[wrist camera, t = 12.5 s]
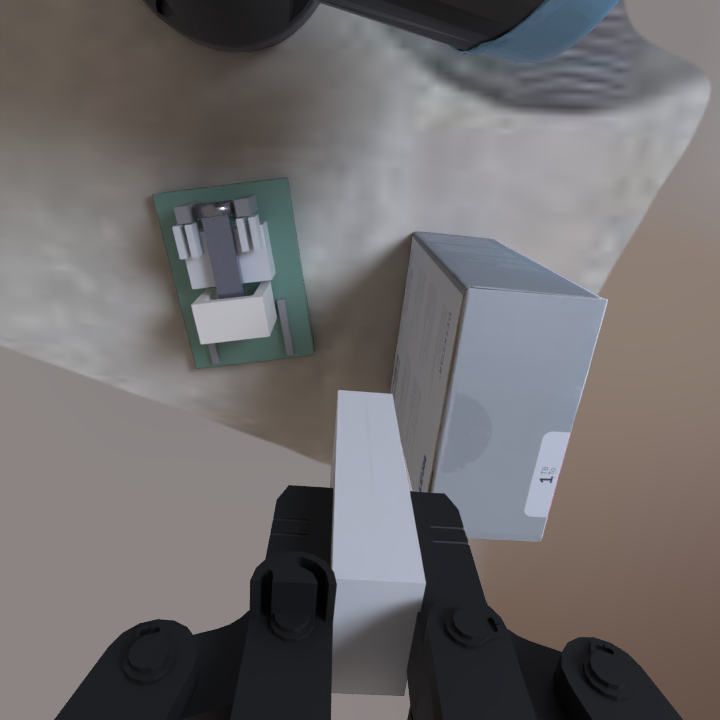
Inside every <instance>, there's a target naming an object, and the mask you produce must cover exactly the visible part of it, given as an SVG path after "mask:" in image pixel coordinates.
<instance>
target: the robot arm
mask: <svg viewBox="0 0 720 720" xmlns="http://www.w3.org/2000/svg"><path fill="white" fill-rule="evenodd" d="M143 1H144V2H145V3H146V5H147V6H148V7H149V8H150V9H151V10H152V11H153V12H154V13H155V14H156V15H157V16H158V17H159V18H161V19H162V20H163V21H164V22H165V23H167V24H168V25H169V26H171V27H172V28H174V29H175V30H176V31H178V32H179V33H181V34H182V35H184V36H185V37H187V38H189V39H191V40H193V41H194V42H196V43H199V44H201V45H203V46H206V47H209V48H212V49H216V50H221V51H227V52H250V51H256V50H260V49H264V48H267V47H270V46H272V45H274V44H277V43H279V42H281V41H282V40H284V39H286V38H287V37H289V36H290V35H292V34H293V33H294V32H295V31H297V30H298V29H299V28H300V27H301V26H302V25H303V24H304V23H305V22H306V21H307V20H308V19H309V18H310V16H311V15H312V14H313V12H314V11H315V10H316V8H317V7H318V5H319V3H322V4H326V5H329V6H332V7H335V8H338V9H341V10H344V11H347V12H350V13H353V14H356V15H359V16H362V17H365V18H368V19H371V20H374V21H377V22H380V23H383V24H386V25H389V26H392V27H395V28H399V29H402V30H405V31H408V32H411V33H414V34H417V35H420V36H423V37H426V38H429V39H432V40H435V41H438V42H441V43H444V44H447V45H449V46H450V47H451V48H452V49H453V50H455V51H457V52H459V53H462V54H466V53H468V54H470V55H477V54H485V55H489V56H492V57H496V58H500V59H504V60H508V61H511V62H515V63H522V64H523V63H537V62H541V61H545V60H548V59H550V58H552V57H554V56H557V55H559V54H561V53H562V52H564V51H566V50H567V49H569V48H570V47H572V46H573V45H574V44H576V43H577V42H578V41H580V40H581V39H582V38H583V37H585V36H586V35H587V34H588V33H589V32H590V31H591V30H592V29H593V28H594V27H596V26H597V25H598V24H599V23H600V21H601V20H602V19H603V18H604V17H605V16H606V15H607V14H608V13H609V12H610V11H611V10H612V9H613V8H614V6H615V5H616V4H617V3H618V2H619V1H620V0H143ZM407 679H408V688H409V697H410V709H409V714H408V719H407V720H683V719H682V718H681V717H680V715H679V714H678V713H677V712H676V710H675V709H674V708H673V707H672V705H671V704H670V703H669V701H668V700H667V699H666V698H665V696H664V695H663V694H662V693H661V691H660V690H659V689H658V688H657V686H656V685H655V684H654V682H653V681H652V680H651V679H650V677H649V676H648V675H647V674H646V672H645V671H644V670H643V669H642V667H641V666H640V665H638V664H637V662H636V661H635V660H634V659H633V658H632V657H631V656H629V654H628V653H626V652H624V651H623V650H621V649H620V648H618V647H616V646H615V645H613V644H612V643H609V642H606V641H603V640H600V639H597V638H594V637H592V638H591V637H589V638H587V637H579V638H576V639H574V640H572V641H570V642H568V643H567V645H566V646H565V648H564V650H563V651H562V652H560V651H557V650H554V649H551V648H548V647H546V646H542V645H540V644H537V643H534V642H531V641H528V640H526V639H524V638H522V637H519V636H517V635H516V634H514V633H513V632H511V631H510V630H508V629H507V628H506V626H505V625H504V622H503V621H502V619H501V617H500V616H499V615H498V614H497V613H496V612H495V611H494V610H493V609H492V608H491V607H489V606H488V605H487V603H486V600H485V597H484V593H483V590H482V587H481V583H480V580H479V576H478V573H477V570H476V567H475V563H474V560H473V557H472V553H471V550H470V546H469V545H468V540H467V536H466V533H465V530H464V526H463V523H462V520H461V516H460V513H459V510H458V508H457V507H456V506H455V505H454V504H453V502H452V501H451V500H450V499H449V498H448V497H447V495H446V494H445V493H429V492H413V491H409V485H408V479H407V474H406V468H405V462H404V457H403V451H402V445H401V440H400V434H399V428H398V423H397V417H396V412H395V406H394V400H393V395H392V394H386V393H373V392H359V391H346V390H338V397H337V408H336V420H335V431H334V443H333V455H332V466H331V483H330V488H324V487H307V486H291V485H289V486H288V487H287V488H286V490H285V491H284V492H283V493H282V495H280V497H279V498H278V499H277V502H276V507H275V512H274V519H273V523H272V528H271V535H270V538H269V544H268V549H267V554H266V559H265V561H263V562H262V563H261V564H260V565H259V566H258V567H257V568H256V569H255V571H254V574H253V576H252V578H251V580H250V610H249V611H248V612H247V613H246V614H245V615H243V616H242V617H241V618H240V619H238V620H236V621H235V622H233V623H231V624H230V625H227V626H224V627H221V628H219V629H215V630H211V631H207V632H203V633H199V634H195V635H192V633H191V632H190V630H189V629H188V627H186V626H184V625H182V624H180V623H178V622H176V621H172V620H160V619H157V620H152V621H148V622H144V623H140V624H138V625H136V626H134V627H132V628H131V629H129V630H127V631H125V632H124V633H122V634H121V635H120V636H119V637H118V638H117V639H116V640H115V641H114V642H113V643H112V644H111V645H110V646H109V647H108V648H107V650H106V651H105V652H104V654H103V655H102V656H101V658H100V659H99V660H98V662H97V663H96V664H95V666H94V667H93V668H92V670H91V671H90V672H89V674H88V675H87V676H86V678H85V679H84V681H83V682H82V683H81V684H80V686H79V687H78V689H77V690H76V691H75V693H74V694H73V695H72V697H71V698H70V699H69V701H68V702H67V703H66V705H65V706H64V707H63V709H62V710H61V711H60V713H59V714H58V716H57V717H56V718H55V719H54V720H331V693H342V694H369V695H394V696H404V694H405V689H406V683H407Z"/></svg>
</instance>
